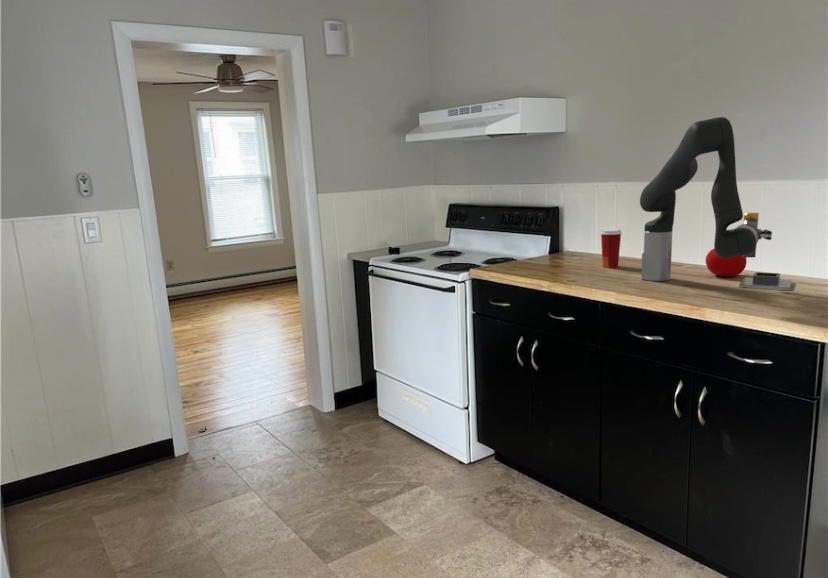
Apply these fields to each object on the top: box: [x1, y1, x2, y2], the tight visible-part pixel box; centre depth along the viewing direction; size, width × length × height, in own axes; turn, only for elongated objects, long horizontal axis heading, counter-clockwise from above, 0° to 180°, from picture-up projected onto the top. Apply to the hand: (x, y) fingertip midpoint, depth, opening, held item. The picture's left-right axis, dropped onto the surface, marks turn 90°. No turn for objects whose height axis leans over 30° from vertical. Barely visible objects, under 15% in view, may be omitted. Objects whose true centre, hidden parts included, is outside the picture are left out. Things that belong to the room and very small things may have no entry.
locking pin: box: [742, 212, 760, 258], centre depth 196 cm, size 4×4×14 cm
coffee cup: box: [599, 228, 622, 269], centre depth 246 cm, size 8×8×15 cm
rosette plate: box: [738, 271, 793, 291], centre depth 200 cm, size 14×14×4 cm
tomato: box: [705, 248, 747, 278], centre depth 218 cm, size 12×13×11 cm
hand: (751, 231), depth 198 cm, fingers closed on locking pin, 4 cm apart
